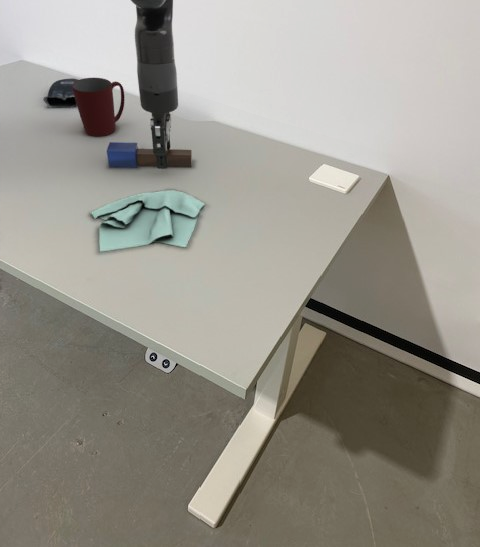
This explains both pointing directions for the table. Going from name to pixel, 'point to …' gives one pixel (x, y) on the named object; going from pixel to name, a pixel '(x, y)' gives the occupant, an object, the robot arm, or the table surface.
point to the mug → (97, 105)
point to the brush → (144, 156)
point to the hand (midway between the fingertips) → (164, 157)
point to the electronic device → (61, 94)
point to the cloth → (148, 220)
